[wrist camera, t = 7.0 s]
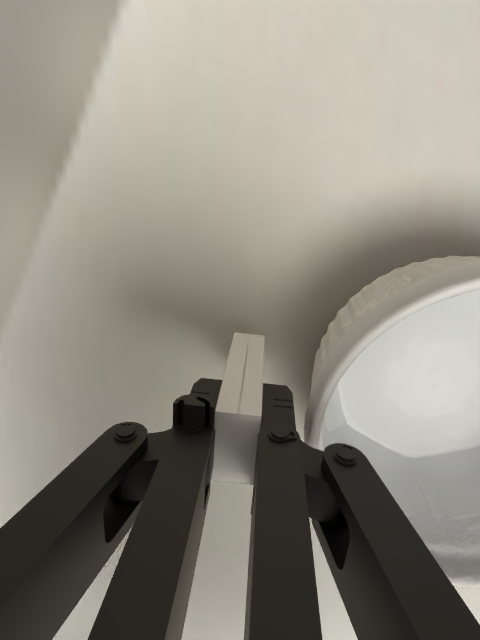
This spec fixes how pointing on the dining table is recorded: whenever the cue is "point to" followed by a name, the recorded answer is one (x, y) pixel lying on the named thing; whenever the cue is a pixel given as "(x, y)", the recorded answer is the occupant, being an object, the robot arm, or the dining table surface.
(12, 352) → the dining table surface
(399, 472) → the ramekin
